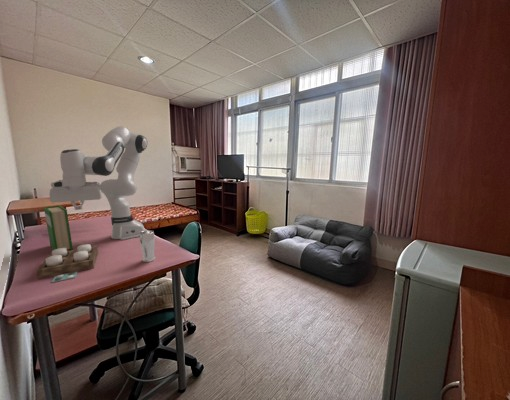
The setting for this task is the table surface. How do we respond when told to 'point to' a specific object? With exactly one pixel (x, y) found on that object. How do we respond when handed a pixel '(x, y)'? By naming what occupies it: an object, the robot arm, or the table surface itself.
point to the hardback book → (58, 227)
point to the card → (64, 277)
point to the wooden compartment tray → (68, 264)
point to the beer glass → (147, 245)
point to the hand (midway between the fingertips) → (78, 209)
